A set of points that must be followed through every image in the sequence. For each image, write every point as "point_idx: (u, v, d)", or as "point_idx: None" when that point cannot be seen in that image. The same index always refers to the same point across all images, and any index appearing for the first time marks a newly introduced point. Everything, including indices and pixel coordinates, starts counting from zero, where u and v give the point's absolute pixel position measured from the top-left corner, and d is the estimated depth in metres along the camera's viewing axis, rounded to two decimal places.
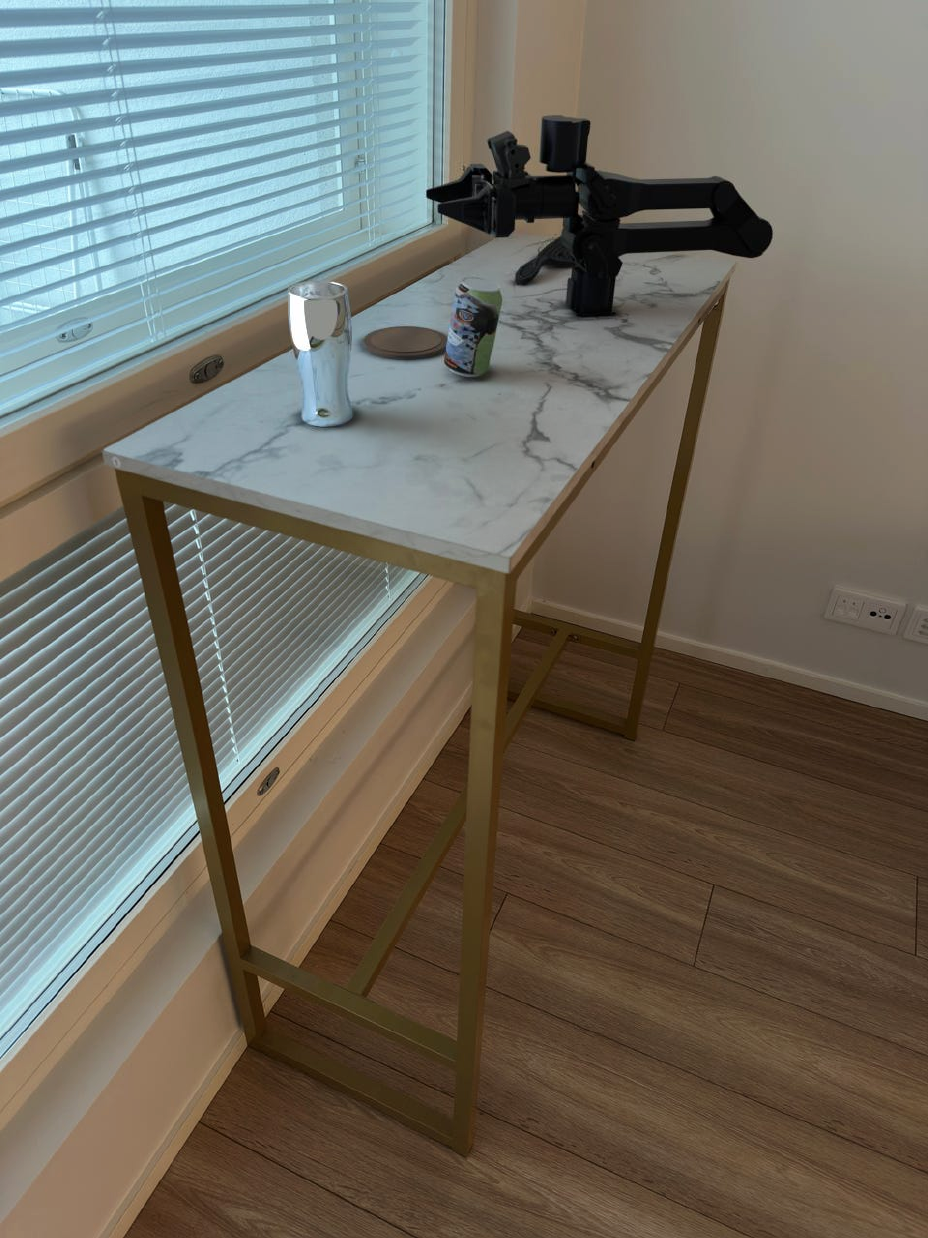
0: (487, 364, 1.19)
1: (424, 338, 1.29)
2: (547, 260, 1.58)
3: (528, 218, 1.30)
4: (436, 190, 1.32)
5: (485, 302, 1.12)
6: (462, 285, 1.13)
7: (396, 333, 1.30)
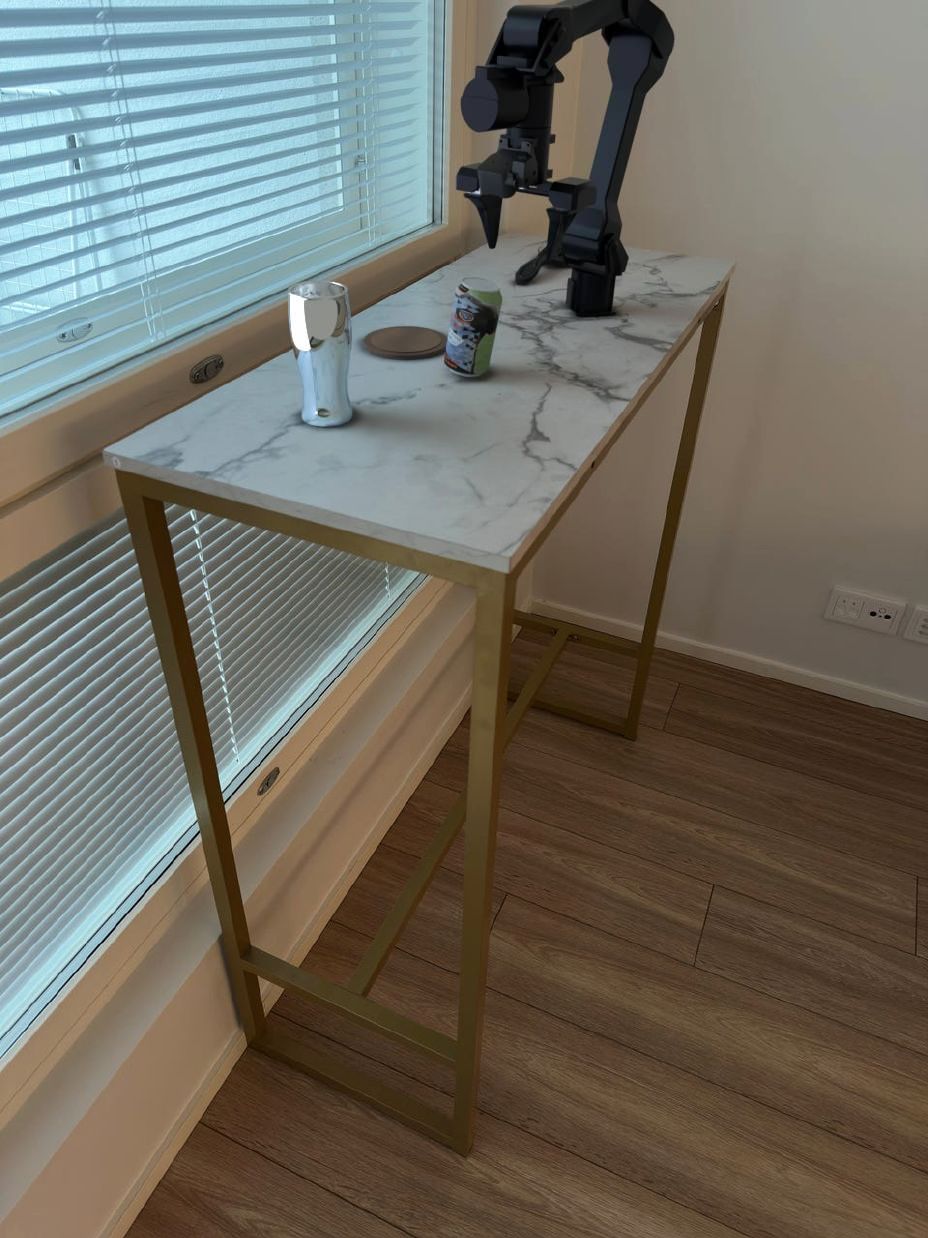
0: (487, 364, 1.19)
1: (424, 338, 1.29)
2: None
3: (552, 141, 1.16)
4: (491, 237, 1.25)
5: (485, 302, 1.12)
6: (462, 285, 1.13)
7: (396, 333, 1.30)
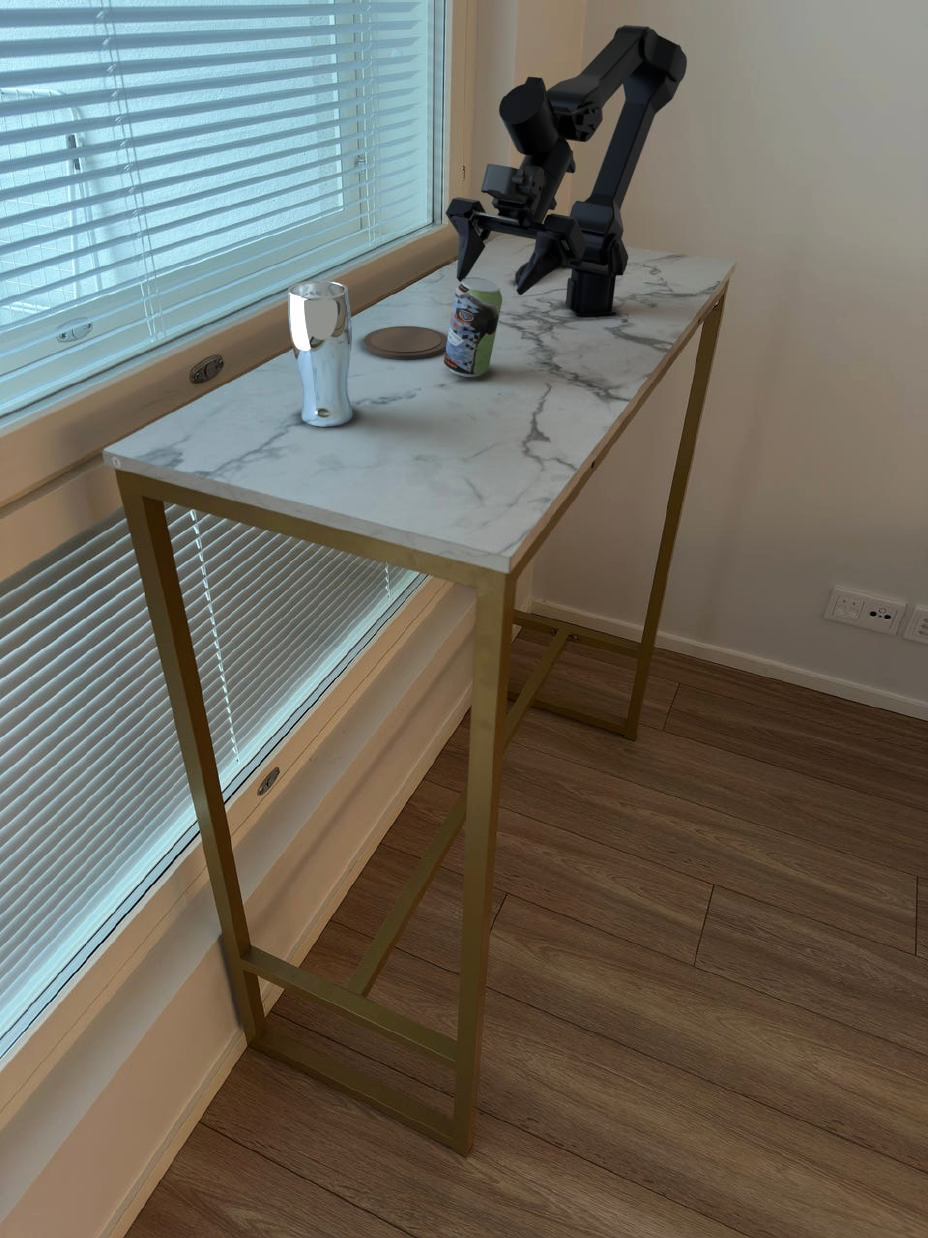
0: (487, 364, 1.19)
1: (424, 338, 1.29)
2: None
3: (553, 206, 1.19)
4: (462, 268, 1.19)
5: (485, 302, 1.12)
6: (462, 285, 1.13)
7: (396, 333, 1.30)
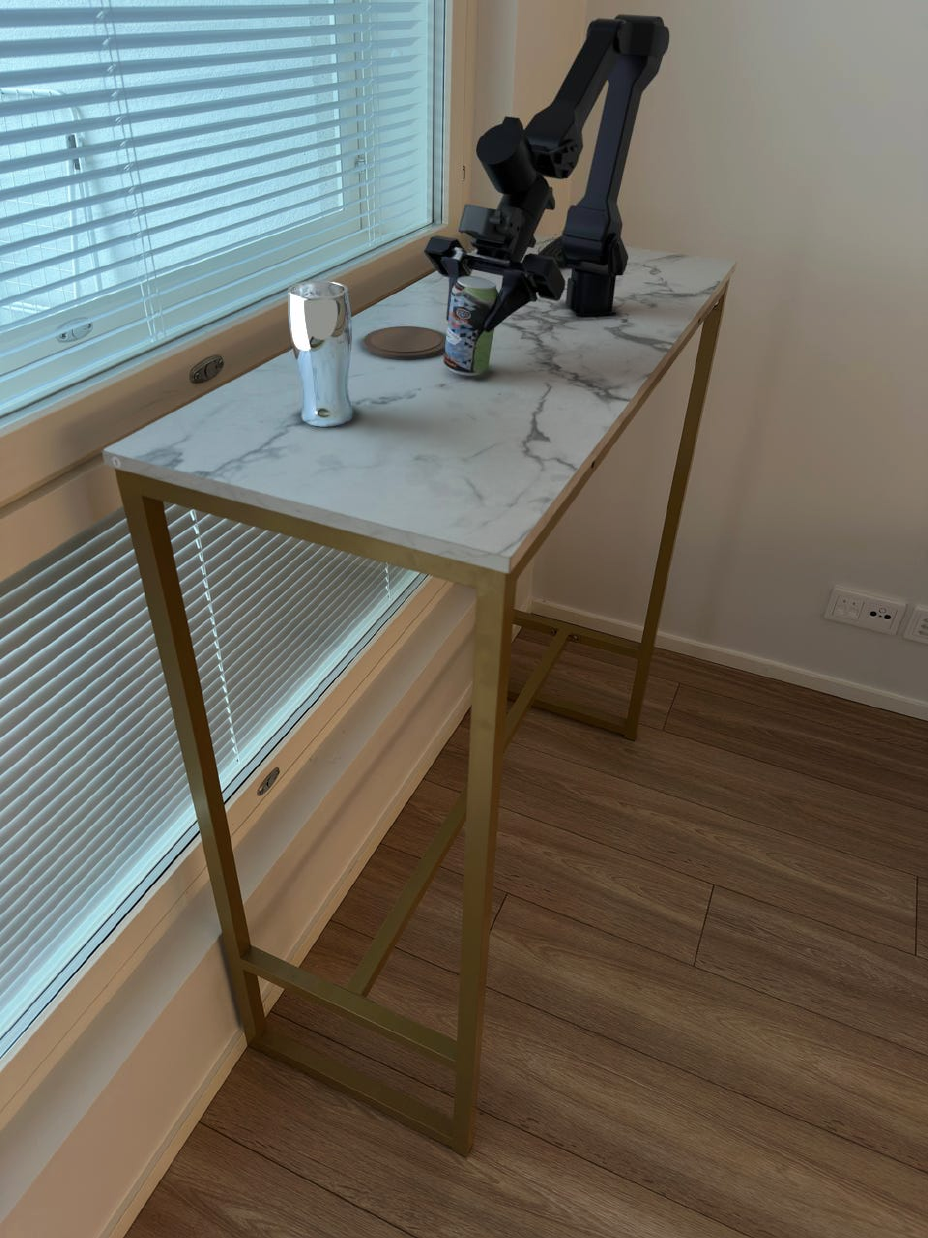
0: (487, 362, 1.19)
1: (424, 338, 1.29)
2: None
3: (532, 244, 1.17)
4: None
5: (481, 298, 1.12)
6: (458, 283, 1.13)
7: (396, 333, 1.30)
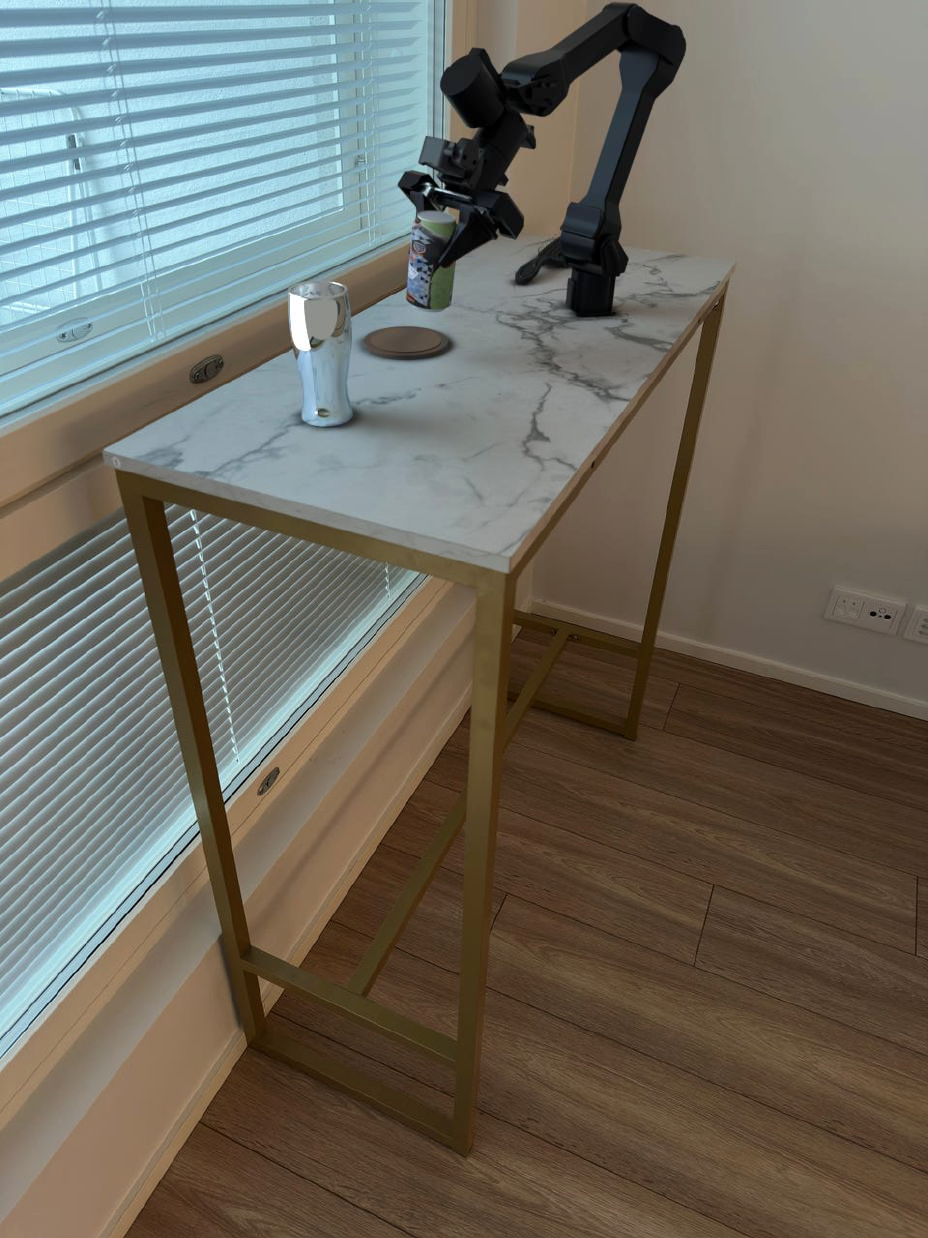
0: (446, 299, 1.18)
1: (424, 338, 1.29)
2: (547, 260, 1.58)
3: (503, 182, 1.16)
4: None
5: (435, 232, 1.12)
6: (417, 217, 1.14)
7: (396, 333, 1.30)
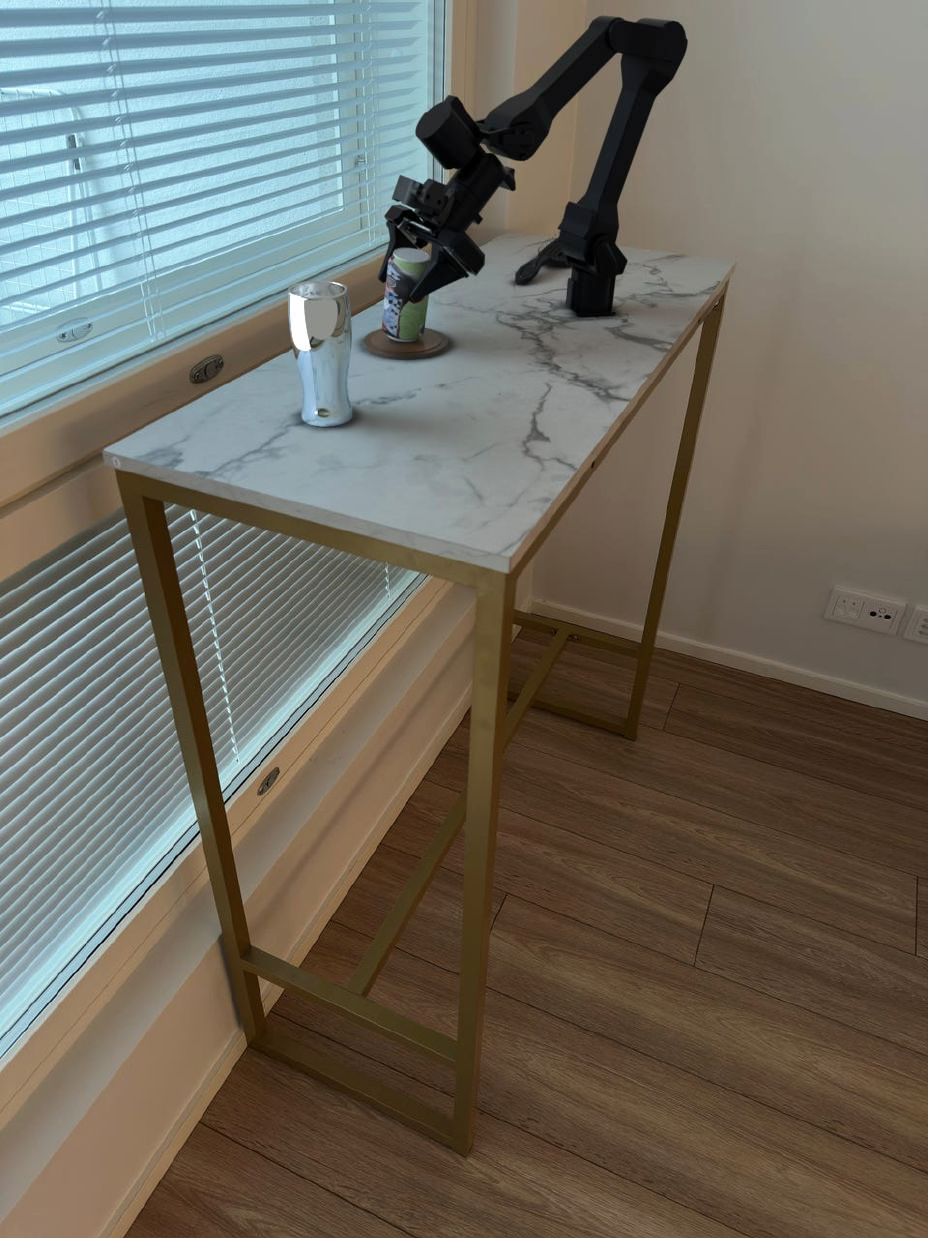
0: (415, 331, 1.26)
1: (424, 338, 1.29)
2: (547, 260, 1.58)
3: (476, 221, 1.22)
4: (385, 270, 1.26)
5: (405, 270, 1.20)
6: (393, 253, 1.22)
7: None
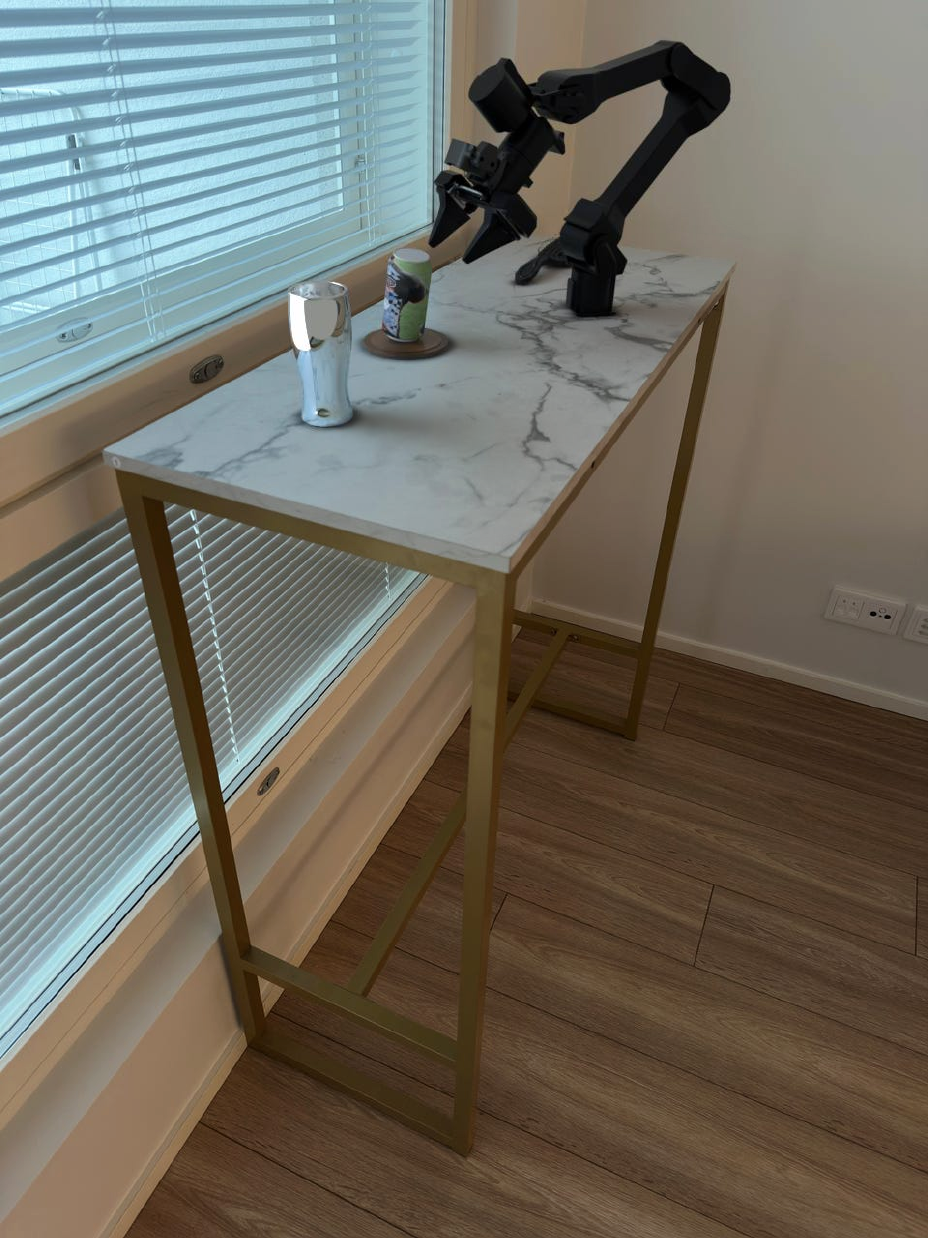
0: (415, 331, 1.26)
1: (424, 338, 1.29)
2: (547, 260, 1.58)
3: (527, 184, 1.23)
4: (435, 235, 1.28)
5: (405, 270, 1.20)
6: (393, 253, 1.22)
7: None
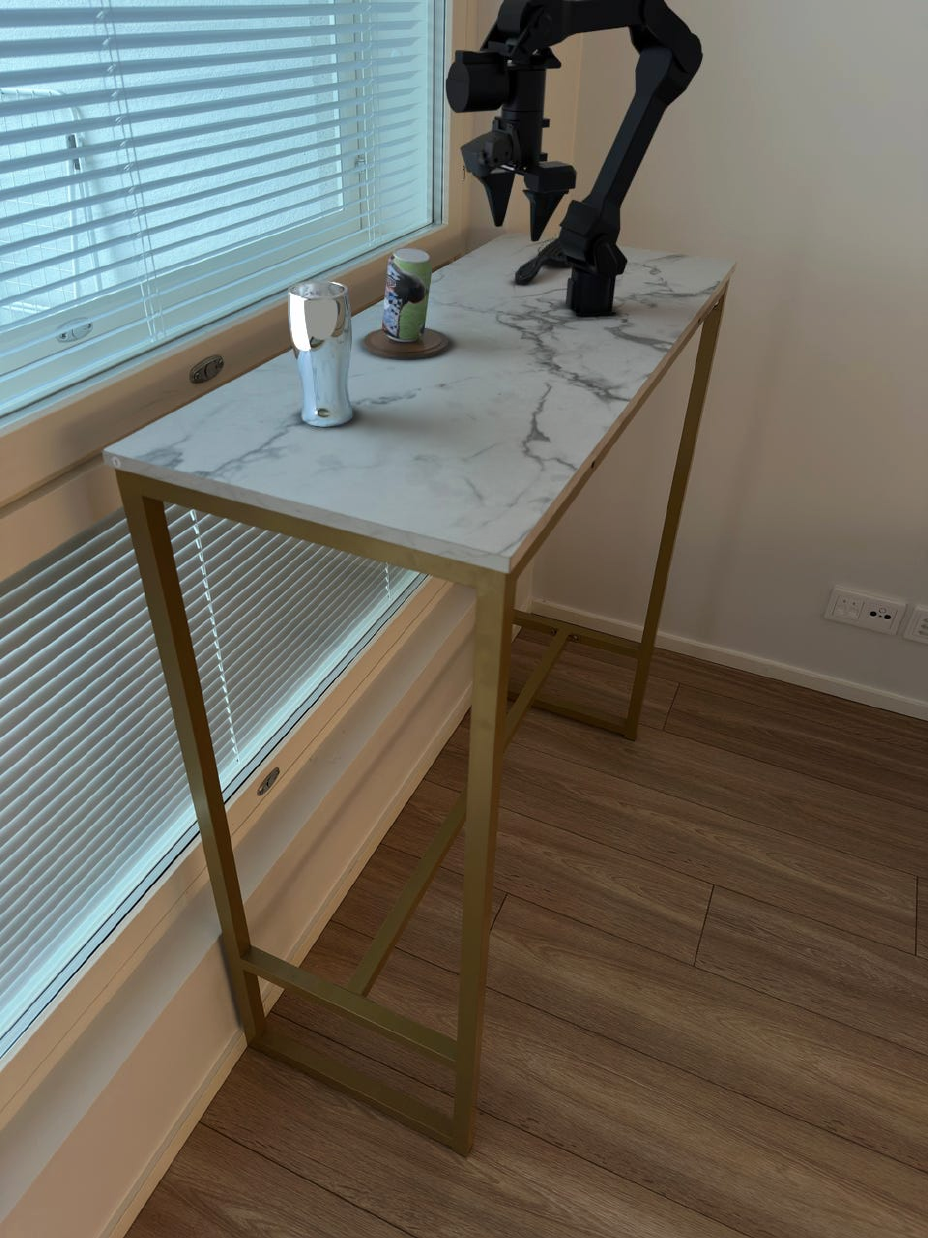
0: (415, 331, 1.26)
1: (424, 338, 1.29)
2: (547, 260, 1.58)
3: (546, 126, 1.20)
4: (496, 216, 1.31)
5: (405, 270, 1.20)
6: (393, 253, 1.22)
7: None
